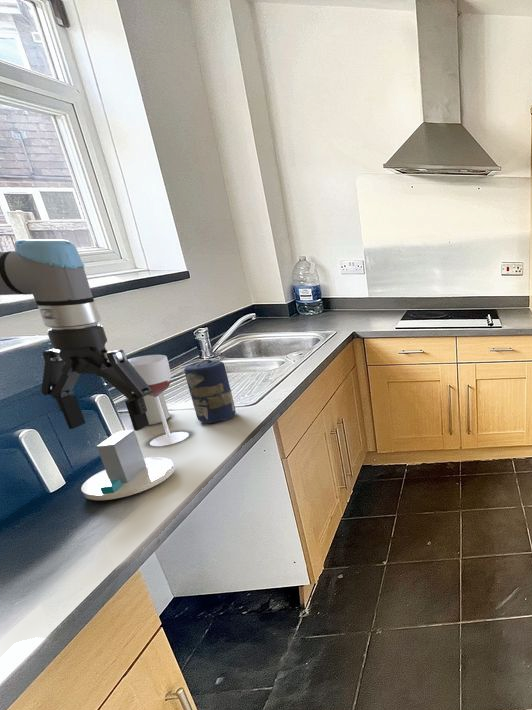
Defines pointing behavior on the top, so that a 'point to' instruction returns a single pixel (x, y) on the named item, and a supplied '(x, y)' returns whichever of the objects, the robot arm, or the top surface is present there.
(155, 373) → the wineglass
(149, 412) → the travel mug
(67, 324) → the robot arm
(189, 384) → the canister
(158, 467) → the plate
